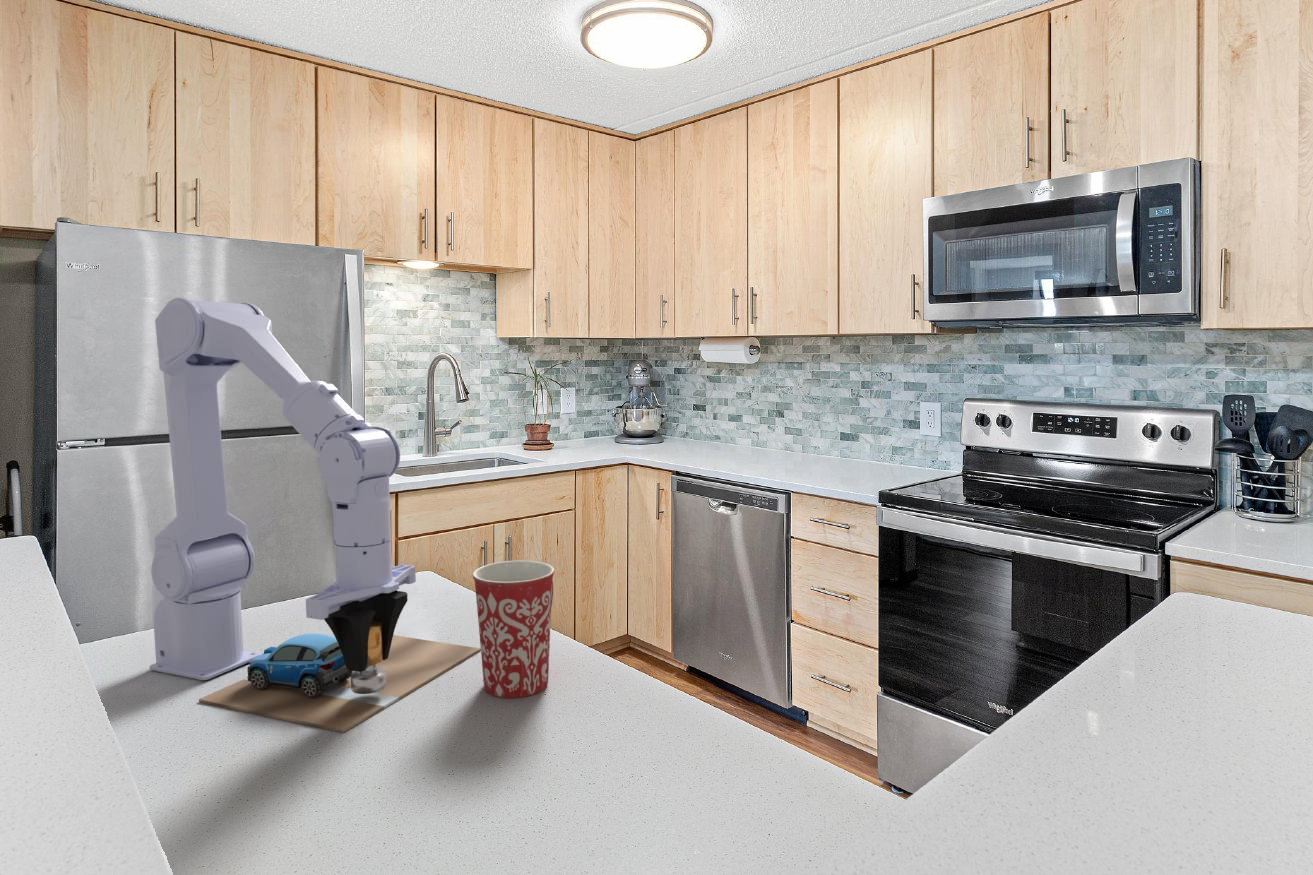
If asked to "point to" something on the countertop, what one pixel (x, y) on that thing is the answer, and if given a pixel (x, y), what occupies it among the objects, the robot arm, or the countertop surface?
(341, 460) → the robot arm
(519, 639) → the mug
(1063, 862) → the countertop surface
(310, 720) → the board
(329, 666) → the toy car
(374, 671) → the coffee tamper
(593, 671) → the countertop surface
